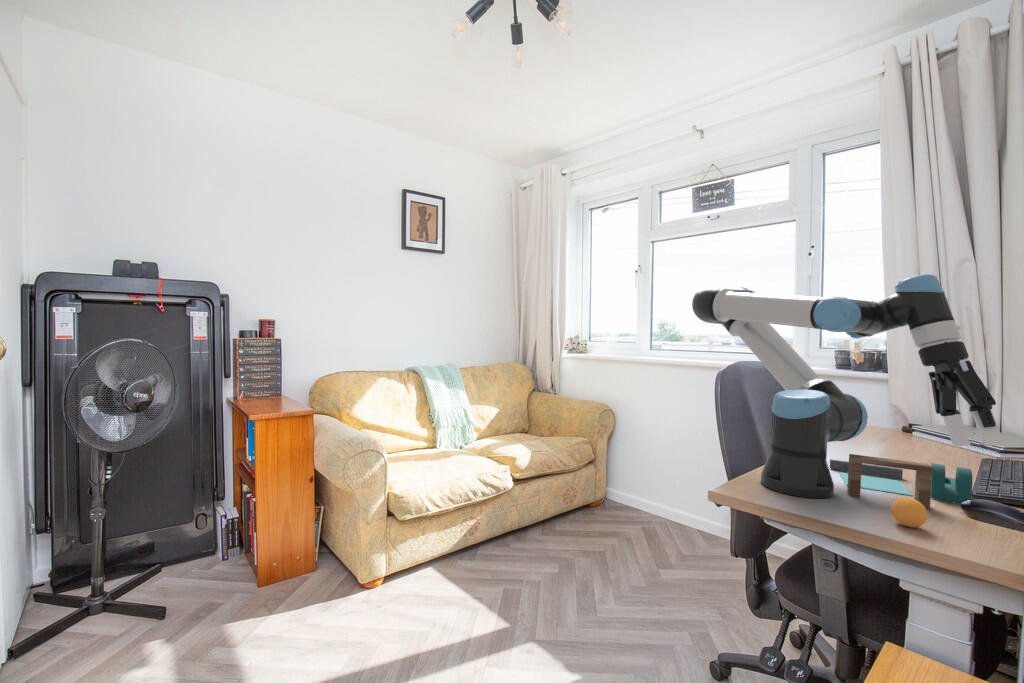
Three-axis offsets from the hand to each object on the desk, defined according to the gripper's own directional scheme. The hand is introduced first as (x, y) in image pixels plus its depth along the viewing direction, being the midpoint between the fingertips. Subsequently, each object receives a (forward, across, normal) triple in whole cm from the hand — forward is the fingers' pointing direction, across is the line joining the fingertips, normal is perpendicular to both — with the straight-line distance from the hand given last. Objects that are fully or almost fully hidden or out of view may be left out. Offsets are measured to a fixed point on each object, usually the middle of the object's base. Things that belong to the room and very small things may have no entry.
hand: (977, 445), depth 95 cm
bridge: (+10, +11, +15) cm, 21 cm away
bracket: (+12, +26, 0) cm, 28 cm away
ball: (+11, -6, +16) cm, 21 cm away
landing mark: (+8, +25, +14) cm, 29 cm away
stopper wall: (+6, +35, +13) cm, 38 cm away
